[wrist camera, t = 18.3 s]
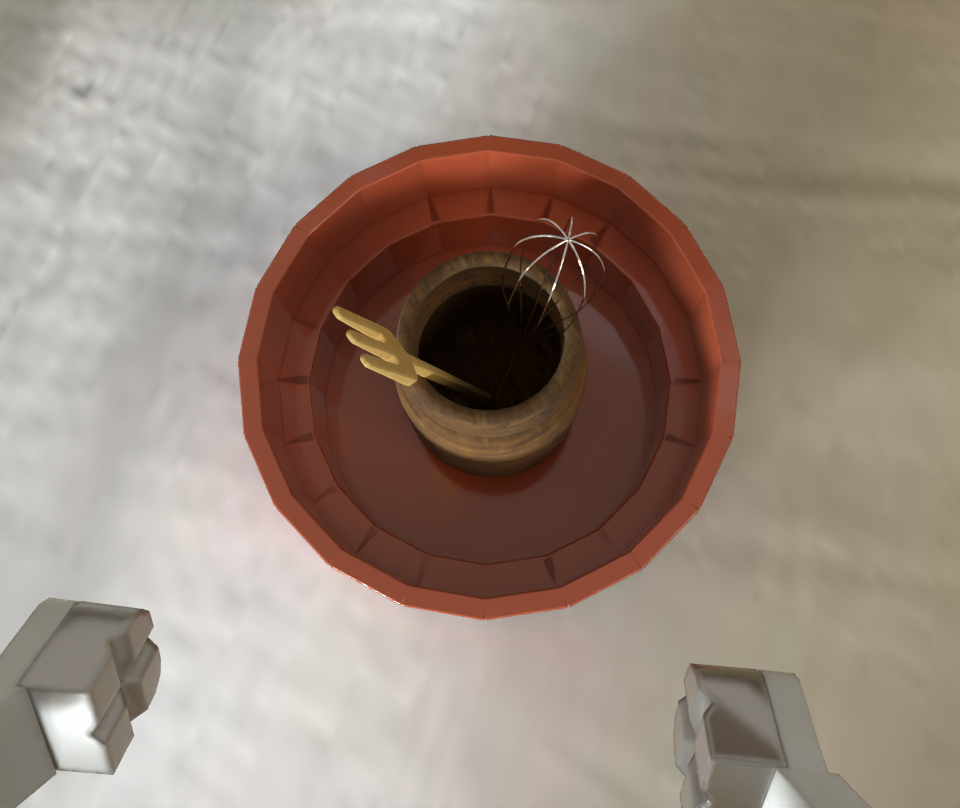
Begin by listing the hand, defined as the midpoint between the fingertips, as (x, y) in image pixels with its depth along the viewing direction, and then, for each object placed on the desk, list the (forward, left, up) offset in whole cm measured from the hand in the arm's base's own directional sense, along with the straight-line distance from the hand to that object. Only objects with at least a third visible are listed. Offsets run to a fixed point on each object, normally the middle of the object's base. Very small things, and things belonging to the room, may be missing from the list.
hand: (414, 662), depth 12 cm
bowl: (-5, +6, -16) cm, 18 cm away
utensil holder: (-5, +6, -15) cm, 17 cm away
